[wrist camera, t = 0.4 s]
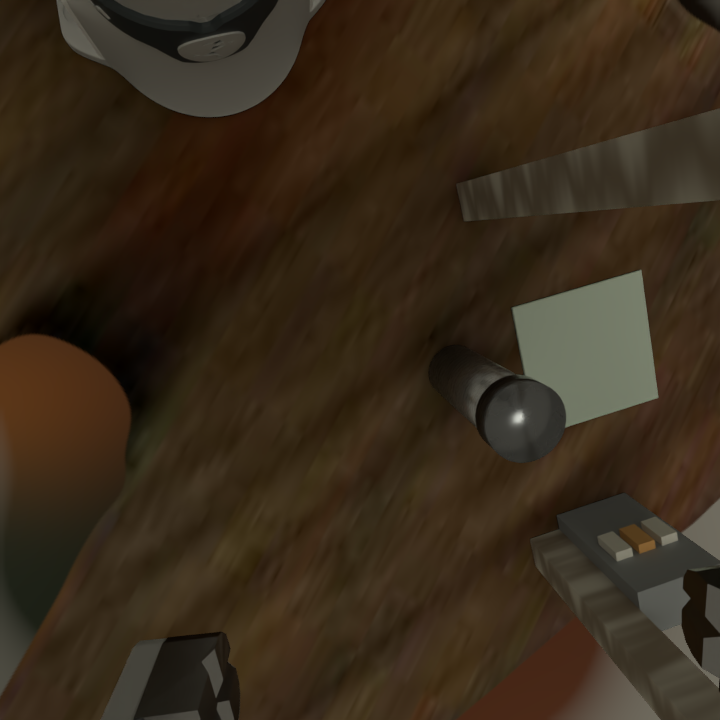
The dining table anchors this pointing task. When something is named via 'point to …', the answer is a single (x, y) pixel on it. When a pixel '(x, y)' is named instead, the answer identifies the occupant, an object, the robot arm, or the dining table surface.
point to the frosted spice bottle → (500, 403)
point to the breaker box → (637, 554)
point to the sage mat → (590, 346)
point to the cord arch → (600, 192)
